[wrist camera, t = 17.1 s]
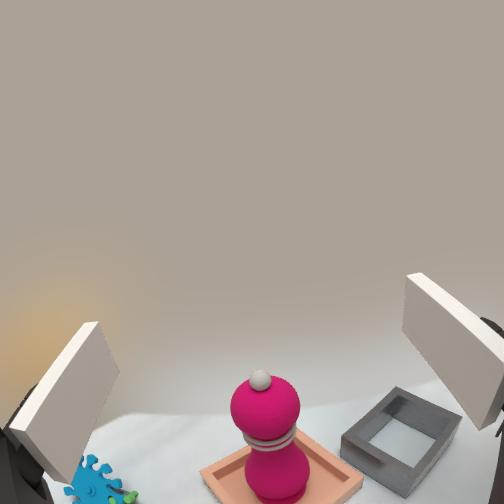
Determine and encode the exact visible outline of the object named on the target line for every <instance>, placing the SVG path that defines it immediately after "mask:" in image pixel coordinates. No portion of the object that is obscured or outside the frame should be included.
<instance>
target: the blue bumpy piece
mask: <svg viewBox="0 0 504 504" xmlns="http://www.w3.org/2000/svg"><path fill="white" fill-rule="evenodd" d="M83 461H84V456H83V455H82V457H81V460H80V462H79V465H78V467H77V470H76V472H75V475H74V477H73V480H72V482H71V486H72V487H73V488H74V490H73V489H72V488H71V487H64V492H65V495H67V496H69V495H75V496H77V497H79V498H80V499H81V501H74V502H72V504H124V503H128V504H129V503H131V502H133V501H135V499H136V498H135V496H136V495H138V493H137V491H133V492H130V493H129V492H127V491H124V490H121V489H119V488H122V482H121V479H114V480H110V479H106V478H104V477H103V475H102V473H105V474H108V473H111V472H112V468H111V467H110V465H109V464H103V465H101V468H100V469H99V470H98V471H95V470H94V469H93V468H92V465H93V464H95V463H97V462H98V458H97V457H95V456H94V455H92V454H91V455H87V464H86V467H85V468H83V466H82V462H83ZM111 485H112V486H111Z"/></svg>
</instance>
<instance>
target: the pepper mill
mask: <svg viewBox="0 0 504 504" xmlns="http://www.w3.org/2000/svg"><path fill="white" fill-rule="evenodd" d="M230 408H231V416H232V418H233V421H234V423H235V425H236V426H237V427H238V428H239V429H240V430H241V431H242V433H243V437H244V440H245V441H246V443H247V444H248V445H249V446H251V453H250V455H249V456H248V458H247V460H246V464H245V478H246V481H247V484H248V485H249V487H250V488H251V489H252V490H253V491H254V492H255V494H256V496H257V498H258V499H259V500H260V501H261V502H262V503H264V504H294V503H296V502H297V501H299V500H300V499H301V498H302V496H303V495H304V493H305V491H306V486H307V485H306V483H307V481H308V479H309V476H310V466H309V461H308V459H307V457H306V455H305V453H304V452H303V451H302V449H300V448H299V447H298V446H297V445H296V444H295V443H294V441H293V439H294V437H295V435H296V431H297V428H296V421H297V419H298V417H299V412H300V401H299V397H298V394H297V392H296V391H295V389H294V388H293V387H292V385H290V383H288V382H287V381H286V380H284V379H282V378H279V377H275V376H270V374H269V373H268V372H266V371H265V370H262V369H259V370H256V371H254V372H252V374H251V375H250V378H249V379H248V380H247V381H245V382H243V383H242V384H241V385H240V386H239V387H238V388H237V389H236V391H235V393H234V394H233V396H232V399H231V406H230Z"/></svg>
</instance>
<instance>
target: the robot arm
mask: <svg viewBox="0 0 504 504" xmlns="http://www.w3.org/2000/svg"><path fill="white" fill-rule="evenodd" d="M402 331H403V332H404V334H405V335H406V336H407V337H408V339H409V340H410V341H411V342H412V344H413V345H414V346H415V347H416V349H417V350H418V351H419V352H420V354H421V355H422V356H423V357H424V359H425V360H426V361H427V362H428V364H429V365H430V366H431V367H432V369H433V370H434V371H435V373H436V374H437V375H438V376H439V378H440V379H441V380H442V382H443V383H444V384H445V385H446V387H447V388H448V389H449V391H450V392H451V393H452V395H453V396H454V397H455V399H456V400H457V401H458V403H459V404H460V405H461V407H462V408H463V410H464V411H465V412H466V414H467V415H468V416H469V418H470V419H471V421H472V422H473V423H474V425H475V426H476V428H477V429H478V430H481V429H483V428H485V427H487V426H488V425H490V424H492V423H494V422H495V421H496V419H497V417H498V415H499V413H500V411H501V409H502V410H503V411H504V331H503V330H502V328H501V327H499V326H498V325H497V324H496V323H494V322H493V321H490V320H488V319H486V318H483V317H481V318H478V317H477V316H476V315H474V314H473V313H472V312H471V311H470V310H468V309H467V308H466V307H465V306H464V305H462V304H461V303H460V302H459V301H457V300H456V299H455V298H453V297H452V296H451V295H450V294H448V293H447V292H446V291H444V290H443V289H442V288H441V287H439V286H438V285H437V284H435V283H434V282H433V281H431V280H430V279H428V278H427V277H426V276H425V275H423V274H422V273H421V272H420V273H415V274H411V275H406V283H405V301H404V314H403V326H402ZM119 372H120V371H119V369H118V367H117V365H116V363H115V360H114V358H113V356H112V353H111V351H110V349H109V346H108V344H107V341H106V339H105V336H104V334H103V331H102V329H101V326H100V324H99V322H88V323H84V324H83V326H82V327H81V328H80V329H79V331H78V332H77V333H76V334H75V336H74V337H73V338H72V339H71V341H70V342H69V343H68V345H67V346H66V347H65V349H64V350H63V351H62V353H61V354H60V355H59V356H58V358H57V360H55V362H54V363H53V364H52V366H51V367H50V368H49V370H48V371H47V373H46V374H45V375H44V377H43V378H42V380H41V381H40V382H39V383H38V384H37V385H35V386H34V387H33V388H32V389H31V390H30V391H29V392H28V394H27V395H26V396H25V398H24V400H23V401H22V402H21V404H20V407H18V408H17V410H16V411H15V412H14V414H13V415H12V417H11V418H10V420H9V422H8V423H7V424H6V426H5V427H4V429H3V430H2V429H1V428H0V504H54V502H53V499H52V496H51V493H50V491H49V488H48V485H47V483H46V481H45V479H44V478H43V477H42V476H43V473H44V471H45V472H46V473H47V474H48V475H49V476H50V477H51V478H52V479H53V480H54V481H58V482H62V483H66V484H70V485H71V482H72V480H73V477H74V475H75V472H76V470H77V467H78V465H79V462H80V460H81V457H82V455H83V453H84V450H85V448H86V445H87V443H88V441H89V438H90V436H91V434H92V431H93V429H94V427H95V424H96V422H97V420H98V418H99V415H100V413H101V411H102V409H103V406H104V404H105V402H106V400H107V397H108V395H109V393H110V391H111V389H112V387H113V385H114V383H115V381H116V379H117V376H118V374H119ZM501 431H502V437H501V444H500V451H499V457H498V463H497V468H496V473H495V478H494V483H493V487H492V491H491V496H490V499H489V503H488V504H504V420H503V422H502V424H501V426H500V428H499V429H498V431H497V434H496V436H495V437H498V436H499V434H500V433H501Z"/></svg>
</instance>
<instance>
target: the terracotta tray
mask: <svg viewBox="0 0 504 504" xmlns="http://www.w3.org/2000/svg"><path fill="white" fill-rule="evenodd" d="M296 428H297V427H296ZM293 441H294V443H295V444H296V445H297V446H298V447H299V448H300V449H302V451H303V452H304V453H305V455H306V457H307V459H308V461H309V466H310V476H309V479H308V481H307V483H306V485H307V486H306V491H305V493H304V495H303V496H302V498H301V499H300V500H299V501H297V502H296V503H294V504H343V503H344V502H345V501H346V500H347V499H349V498H350V497H351V496H352V495H353V494H354V493H356V492H357V491H358V490H359V489H360V488H361V487H362V484H363V480H364V475H362V474H361V473H359V472H358V471H356V470H355V469H353V468H352V467H350V466H349V465H347V464H346V463H344V462H343V461H342V460H340V459H339V458H337V457H336V456H334V455H333V454H332V453H330V452H329V451H327V450H326V449H325V448H323V447H322V446H321V445H319V444H318V443H316V442H315V441H314V440H312V439H311V438H310V437H308V436H307V435H306V434H305V433H303V432H302V431H301V430H299V429H298V428H297V431H296V435H295V437H294V439H293ZM250 453H251V446H249V445H247V446H246V447H244V448H242V449H240V450H239V451H237V452H235V453H233V454H231V455H229V456H228V457H226V458H224V459H222V460H220V461H218V462H216V463H214V464H212V465H210V466H208V467H206V468H204V469H202V470H200V471H199V472H200V474H201V476H202V478H203V480H204V481H205V483H206V484H207V486H208V487H209V488H210V490H211V491H212V492H213V493H214V495H215V496H216V497H217V498H218V500H219V501H220V502H221V503H222V504H264V503H262V502H261V501H260V500H259V499H258V498H257V496H256V494H255V492H254V491H253V490H252V489H251V488H250V487H249V485H248V484H247V481H246V478H245V464H246V460H247V458H248V456H249V455H250Z"/></svg>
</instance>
